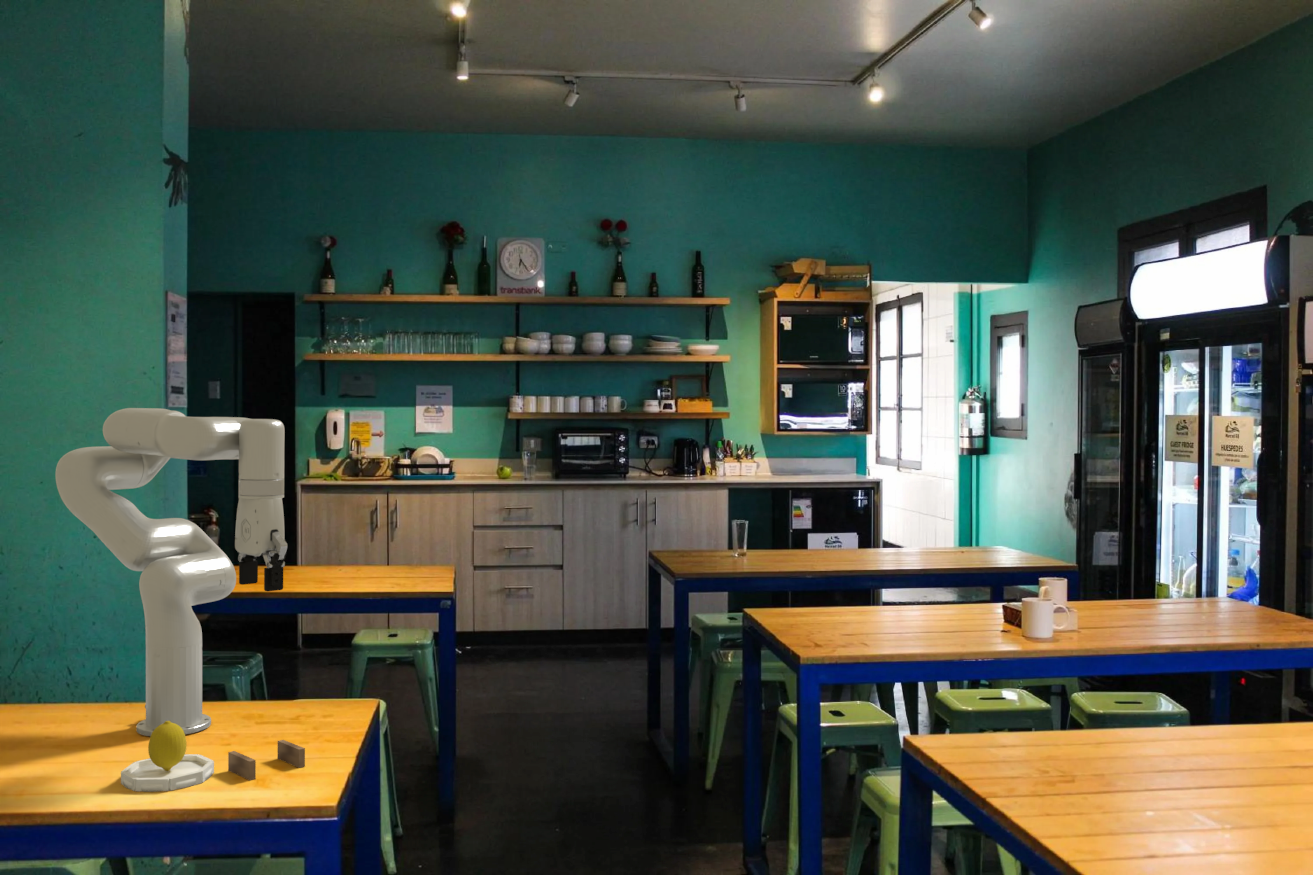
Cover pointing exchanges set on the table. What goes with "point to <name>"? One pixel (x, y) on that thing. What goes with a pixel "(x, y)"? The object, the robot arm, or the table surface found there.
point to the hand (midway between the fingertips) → (260, 586)
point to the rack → (248, 765)
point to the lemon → (167, 745)
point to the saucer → (167, 774)
